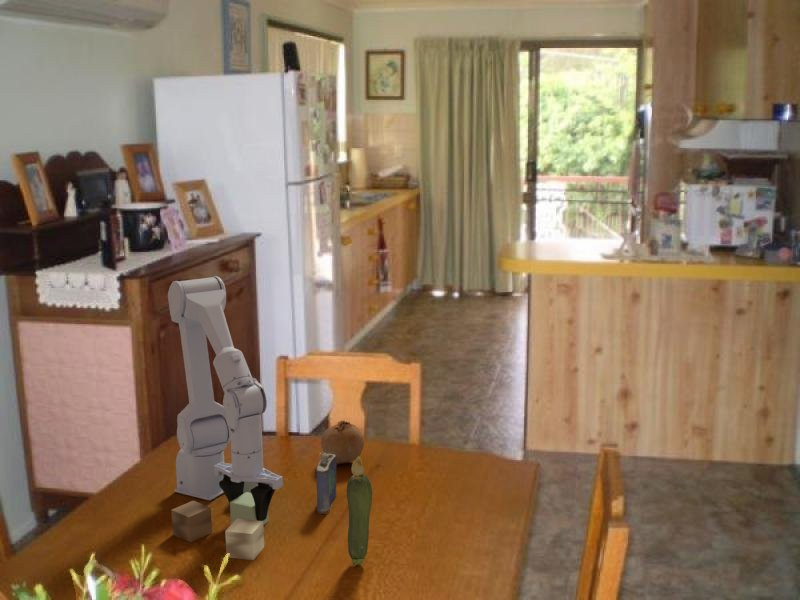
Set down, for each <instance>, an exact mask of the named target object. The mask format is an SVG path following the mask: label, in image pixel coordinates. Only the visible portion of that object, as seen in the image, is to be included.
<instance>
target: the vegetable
mask: <svg viewBox="0 0 800 600" xmlns="http://www.w3.org/2000/svg"><path fill="white" fill-rule="evenodd" d="M351 473H352V476H351V477H349V479H348V481H347V484H346V498H347V507H348V531H347V550H348V555H349V557H350V559H351V563H352V566H353V567H356V565H362V564H364V563H365V557H366V556H367V554H368V548H369V547H368V546H369V536H370V516H371V515H370V514H371V509H372V505H373V487H372V482H371V479H370V478H369V477H368V476H367V475H366V474H364V473H365V468H364V465H363V456H362V455H360V456H358V457H357V458H356V459H355V460H353V462H352V464H351Z"/></svg>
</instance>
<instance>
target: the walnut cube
mask: <svg viewBox="0 0 800 600" xmlns="http://www.w3.org/2000/svg"><path fill="white" fill-rule="evenodd" d="M170 511H171V523H172V535H173V536H175V537H177V538H179V539H182V540H183V541H186V542H188V543H190V544H191V543H193V542H195V541H197V540H199V539H202V538H203V537H206V536H208V535H209V534H212V533H213V525H212V524H213V523H212V522H213V521H212V508H211V507H210V506H208V505H206V504H203V503H201V502H197V500H191V501H189V502H187V503H184V504H182V505H179V506H177V507H175V508H172V509H171V510H170Z"/></svg>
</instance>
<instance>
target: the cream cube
mask: <svg viewBox="0 0 800 600" xmlns="http://www.w3.org/2000/svg"><path fill="white" fill-rule="evenodd" d="M264 530H265V529H264V525H263V521H257V520H247V519H238V518H237V519H236V520H235V521H234V522H233V523H232V524H231V523H230V526H228V527H227V528H226V530H225V532H224V533H225V535H224V536H225V551H226V552H225V553H226V554H227V553H230V557H229V558H231V559H240V560H247V561H248V560H249V561H254V560H255V559H256V558H257V557H258V555H259V554H260V553H261V551H263V549H264V548H265V531H264Z"/></svg>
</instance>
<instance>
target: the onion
mask: <svg viewBox="0 0 800 600" xmlns="http://www.w3.org/2000/svg"><path fill="white" fill-rule="evenodd" d="M320 445H321V450H322V452H323V453H326V454H335V455H336V465H342V464H347V463H349V462H352V461H353V462H354V461H355V460H356V458H357V457H358V456H361V454H362V452H363V450H364V448H365V447H364V445H365V438H364V435H363V432H362V431H361V430H360V429H359V427H358V426H356V425H354V424H353V423H350V421H345V420H340V421H338V422H337V423H336V424H334V425H331V426H330V427H328V428H327V429H326V430H325V431H324V433H323V435H322V437H321V442H320Z"/></svg>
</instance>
